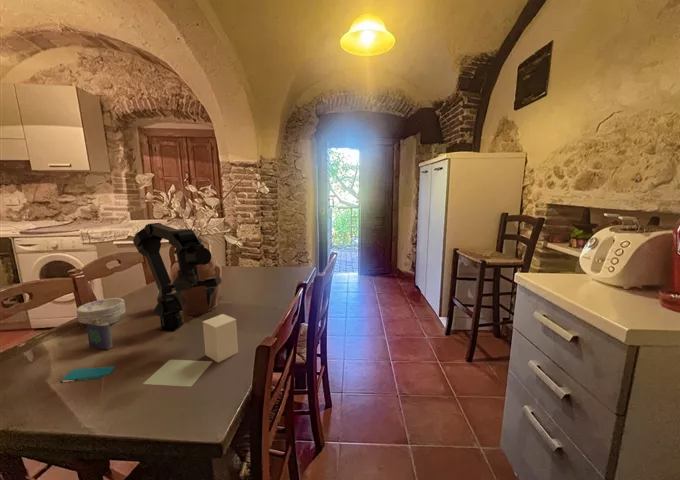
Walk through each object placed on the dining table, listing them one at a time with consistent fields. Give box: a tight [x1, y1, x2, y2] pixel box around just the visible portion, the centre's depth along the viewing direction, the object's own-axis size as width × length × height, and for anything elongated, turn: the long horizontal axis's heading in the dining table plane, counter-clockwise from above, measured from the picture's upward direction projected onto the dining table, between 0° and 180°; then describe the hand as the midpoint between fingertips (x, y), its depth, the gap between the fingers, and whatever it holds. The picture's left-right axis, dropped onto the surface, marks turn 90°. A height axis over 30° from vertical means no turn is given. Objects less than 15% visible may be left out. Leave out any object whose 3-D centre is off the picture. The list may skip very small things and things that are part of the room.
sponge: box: [61, 366, 116, 381], centre depth 88 cm, size 2×12×6 cm
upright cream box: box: [202, 313, 239, 363], centre depth 98 cm, size 7×7×12 cm
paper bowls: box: [75, 297, 126, 325], centre depth 122 cm, size 15×15×8 cm
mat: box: [142, 359, 214, 388], centre depth 89 cm, size 14×12×1 cm
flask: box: [85, 318, 114, 351], centre depth 102 cm, size 9×3×11 cm, turn 74°
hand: (196, 308), depth 107 cm, fingers open, 9 cm apart
